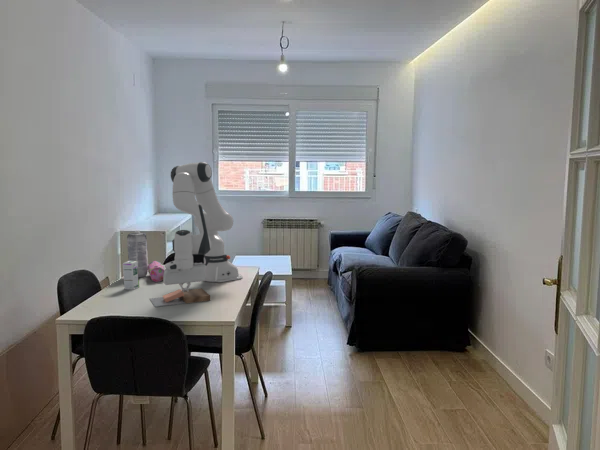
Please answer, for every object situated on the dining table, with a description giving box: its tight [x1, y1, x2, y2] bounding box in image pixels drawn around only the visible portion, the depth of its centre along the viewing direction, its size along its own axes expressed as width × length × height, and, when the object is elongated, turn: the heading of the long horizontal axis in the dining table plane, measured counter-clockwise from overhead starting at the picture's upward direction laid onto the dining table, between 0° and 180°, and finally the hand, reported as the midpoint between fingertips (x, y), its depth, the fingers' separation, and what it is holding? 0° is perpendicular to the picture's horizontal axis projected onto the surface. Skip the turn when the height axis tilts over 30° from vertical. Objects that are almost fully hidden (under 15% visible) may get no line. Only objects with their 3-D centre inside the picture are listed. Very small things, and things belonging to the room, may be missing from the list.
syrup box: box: [122, 260, 140, 291], centre depth 276 cm, size 6×6×14 cm
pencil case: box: [147, 260, 165, 283], centre depth 301 cm, size 21×9×9 cm, turn 19°
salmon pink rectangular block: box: [162, 288, 184, 302], centre depth 250 cm, size 9×6×2 cm, turn 115°
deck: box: [180, 287, 211, 304], centre depth 255 cm, size 12×16×2 cm
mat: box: [149, 296, 186, 308], centre depth 250 cm, size 14×16×1 cm
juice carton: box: [126, 230, 149, 278], centre depth 306 cm, size 9×10×27 cm
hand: (185, 291), depth 253 cm, fingers closed
